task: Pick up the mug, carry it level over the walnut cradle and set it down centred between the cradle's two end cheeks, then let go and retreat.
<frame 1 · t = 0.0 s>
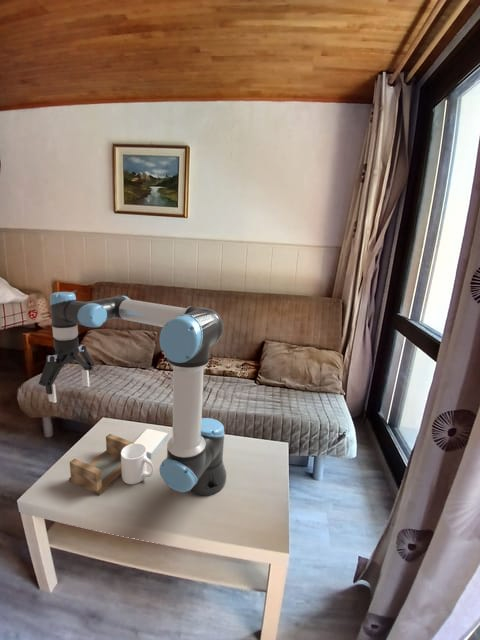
hand: (70, 393, 111), 28 cm above the table, fingers open, 13 cm apart
mug: (138, 477, 111), on the table
white rectangular block: (149, 445, 128), on the table
cradle: (104, 471, 113), on the table
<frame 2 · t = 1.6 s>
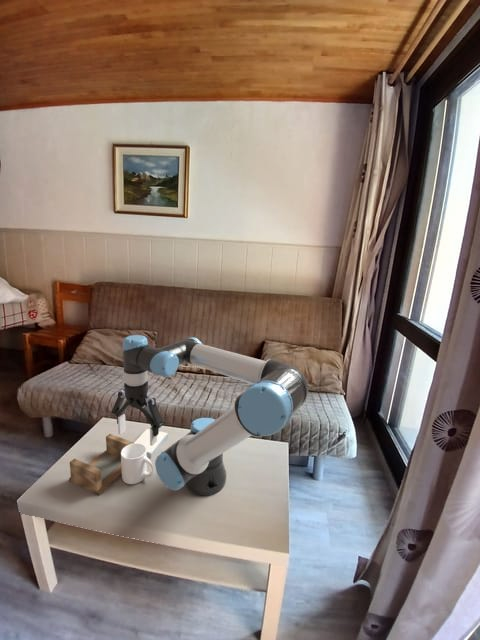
hand: (137, 437, 107), 16 cm above the table, fingers open, 13 cm apart
nothing on the table moved.
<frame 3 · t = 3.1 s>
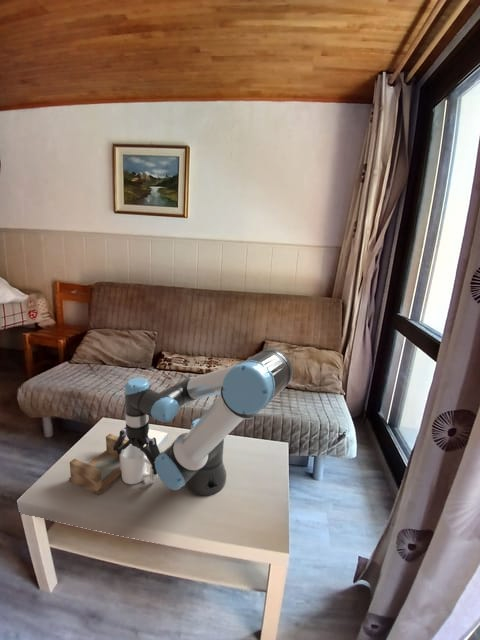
hand: (138, 474, 111), 1 cm above the table, fingers open, 13 cm apart
nothing on the table moved.
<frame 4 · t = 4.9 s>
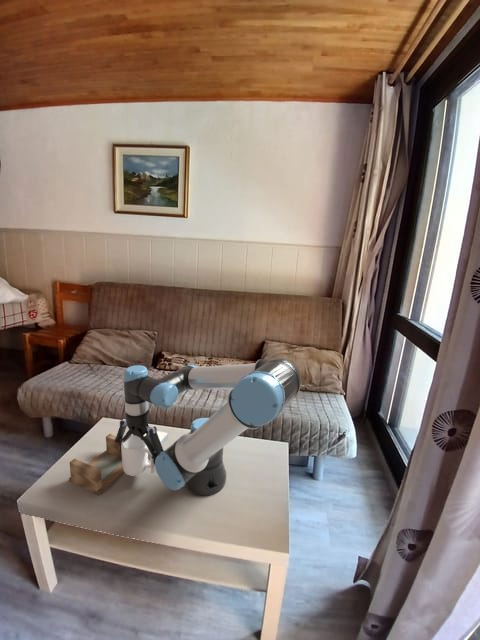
hand: (139, 465, 109), 5 cm above the table, fingers closed on mug, 12 cm apart
mug: (140, 469, 110), point 4 cm above the table, touching gripper
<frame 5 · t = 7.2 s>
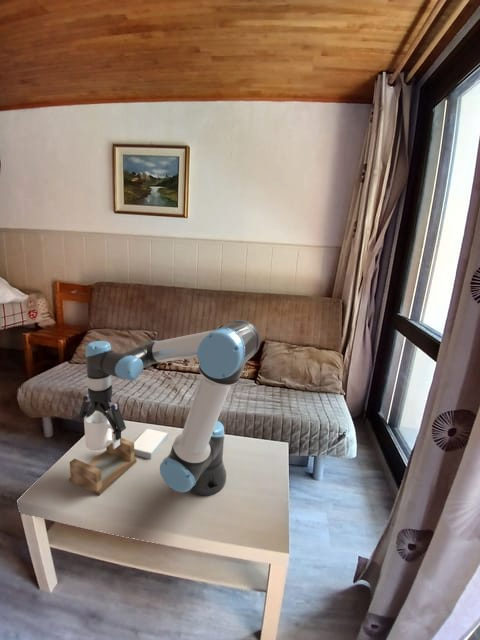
hand: (102, 441, 110), 13 cm above the table, fingers closed on mug, 12 cm apart
mug: (103, 444, 110), point 11 cm above the table, touching gripper
when the fingers open (4 cm above the table, at t = 9.7 s): mug stays where it is, resting on cradle.
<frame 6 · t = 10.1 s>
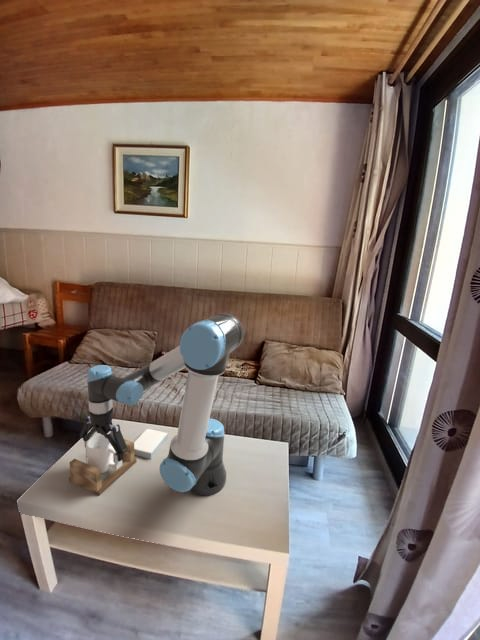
hand: (104, 461, 112), 4 cm above the table, fingers open, 13 cm apart
mug: (105, 468, 113), point 1 cm above the table, touching cradle
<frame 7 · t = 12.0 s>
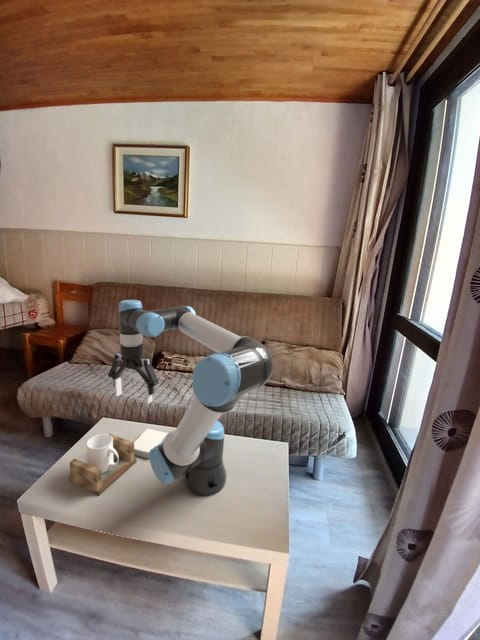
hand: (133, 398, 114), 26 cm above the table, fingers open, 13 cm apart
nothing on the table moved.
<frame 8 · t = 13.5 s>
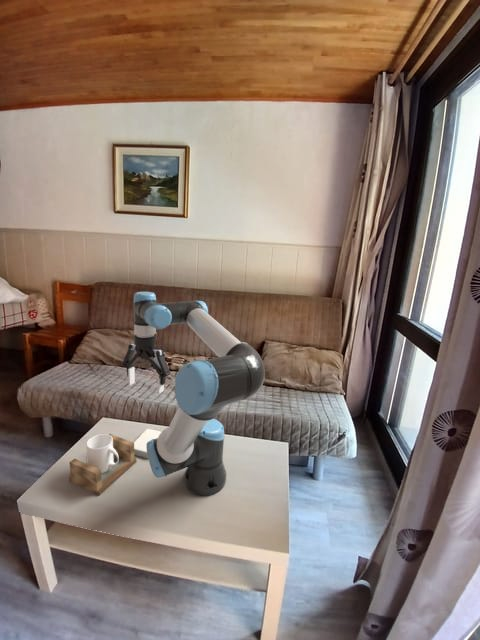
hand: (145, 387, 117), 29 cm above the table, fingers open, 13 cm apart
nothing on the table moved.
at the end: mug inside the target area on the cradle (0.2 cm from its centre), point 1.3 cm above the cradle's base; mug tilted 0°; the gripper is holding nothing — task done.
